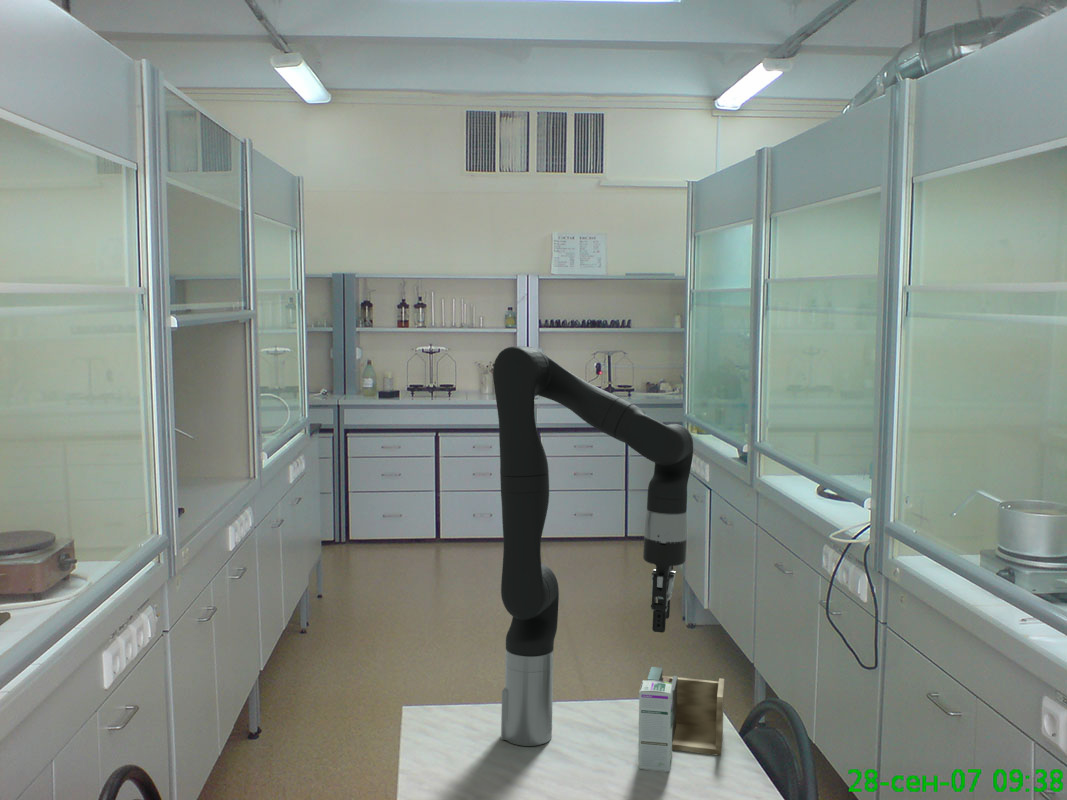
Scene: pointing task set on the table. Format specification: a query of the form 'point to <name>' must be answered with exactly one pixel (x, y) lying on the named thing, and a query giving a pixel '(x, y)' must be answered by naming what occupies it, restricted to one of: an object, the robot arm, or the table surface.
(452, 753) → the table surface
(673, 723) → the shelf
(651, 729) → the syrup box
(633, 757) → the table surface
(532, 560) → the robot arm
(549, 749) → the table surface
